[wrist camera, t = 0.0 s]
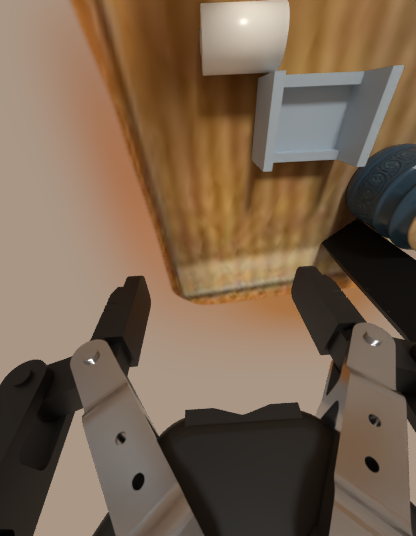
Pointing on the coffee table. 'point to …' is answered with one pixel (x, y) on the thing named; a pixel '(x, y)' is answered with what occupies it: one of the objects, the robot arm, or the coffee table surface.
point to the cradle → (320, 115)
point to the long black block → (378, 273)
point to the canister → (387, 194)
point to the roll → (243, 36)
